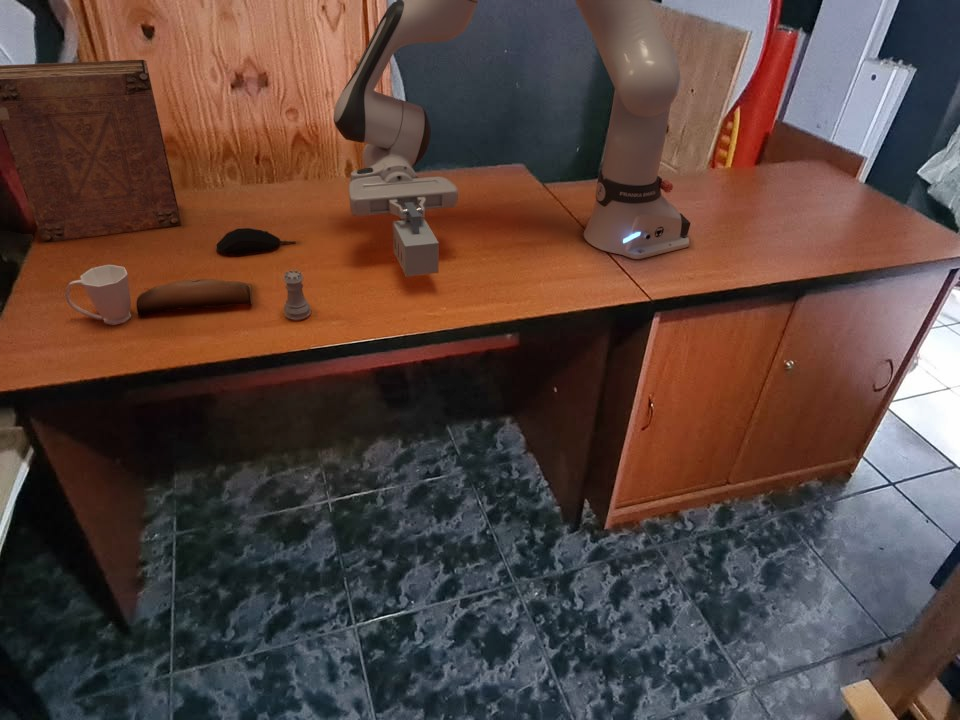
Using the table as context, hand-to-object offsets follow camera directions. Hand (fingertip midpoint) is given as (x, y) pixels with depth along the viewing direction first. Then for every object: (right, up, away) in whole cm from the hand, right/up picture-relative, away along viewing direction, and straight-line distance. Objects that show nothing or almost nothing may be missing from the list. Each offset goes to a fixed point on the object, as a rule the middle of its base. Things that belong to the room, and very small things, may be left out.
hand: (412, 214), depth 122 cm
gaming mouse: (-32, -4, +13) cm, 35 cm away
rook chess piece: (-19, -18, -5) cm, 27 cm away
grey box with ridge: (0, -8, +4) cm, 9 cm away
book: (-62, +2, +18) cm, 65 cm away
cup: (-49, -19, -9) cm, 54 cm away
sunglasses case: (-37, -16, -4) cm, 40 cm away
